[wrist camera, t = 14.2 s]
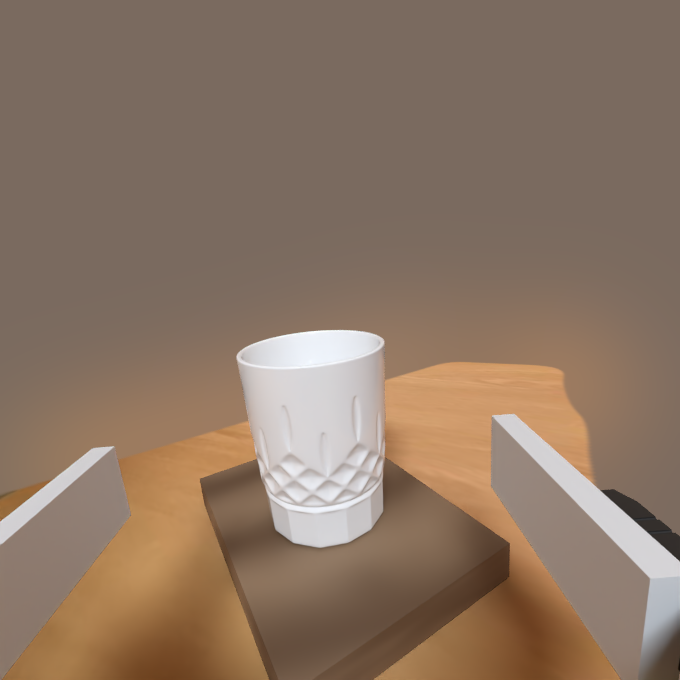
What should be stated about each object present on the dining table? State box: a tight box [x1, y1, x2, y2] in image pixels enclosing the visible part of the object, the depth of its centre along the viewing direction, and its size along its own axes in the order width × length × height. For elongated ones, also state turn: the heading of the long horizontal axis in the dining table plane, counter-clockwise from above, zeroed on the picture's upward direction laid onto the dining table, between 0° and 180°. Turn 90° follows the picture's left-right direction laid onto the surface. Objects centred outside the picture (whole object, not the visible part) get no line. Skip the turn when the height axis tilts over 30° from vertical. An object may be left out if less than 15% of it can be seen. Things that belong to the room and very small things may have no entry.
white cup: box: [236, 330, 386, 548], centre depth 21 cm, size 8×8×10 cm
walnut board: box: [200, 457, 510, 680], centre depth 23 cm, size 16×12×2 cm
